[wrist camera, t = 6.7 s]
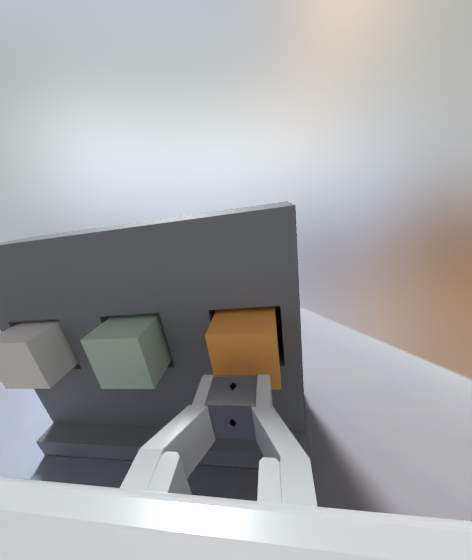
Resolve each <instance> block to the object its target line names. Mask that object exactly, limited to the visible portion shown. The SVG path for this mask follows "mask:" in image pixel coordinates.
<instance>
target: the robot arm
mask: <svg viewBox="0 0 472 560" xmlns="http://www.w3.org/2000/svg"><path fill="white" fill-rule="evenodd" d="M0 333H1V331H0ZM216 439H244V440H256V441H257V444H258V446H259V448H260V450H261V452H262V454H263V456H264V457H263V458H262V459H261V460H260V461H259V473H258V493H257V501H252V500H241V499H231V498H220V497H209V496H199V495H192V493H191V489H190V486H189V483H188V480H187V479H188V477H189V476H190V474H191V473H192V472H193V470H194V469H195V468H196V466H197V465H198V464H199V462H200V461H201V459H202V458H203V457H204V455H205V454H206V453H207V451H208V450H209V448H210V447H211V446H212V444H213V443H214V442H215V440H216ZM0 560H472V521H464V520H453V519H442V518H432V517H421V516H411V515H400V514H389V513H379V512H368V511H358V510H347V509H336V508H326V507H317V500H316V494H315V488H314V481H313V475H312V468H311V462H310V458H309V457H308V456H307V454H306V453H305V451H304V450H303V448H302V447H301V446H300V444H299V443H298V441H297V440H296V439H295V437H294V436H293V434H292V433H291V432H290V430H289V429H288V427H287V426H286V425H285V423H284V422H283V420H282V419H281V417H280V416H279V415H278V413H277V412H276V410H275V409H274V408H273V405H272V392H271V382H270V375H269V374H261V375H203V376H202V378H201V381H200V384H199V386H198V389H197V392H196V394H195V397H194V400H193V403H192V405H188V406H187V407H186V408H185V409H184V410H182V411H181V412H180V413H179V414H178V415H177V416H176V417H175V418H173V419H172V420H171V421H170V422H169V423H168V424H167V425H166V426H164V427H163V428H162V429H161V430H160V431H159V432H158V433H157V434H156V435H154V436H153V437H152V438H151V439H150V440H149V441H148V442H147V443H145V444H144V445H143V446H142V447H141V448H140V449H139V451H138V453H137V455H136V457H135V459H134V461H133V463H132V465H131V467H130V469H129V471H128V473H127V475H126V477H125V479H124V481H123V482H122V484H121V486H120V488H113V487H103V486H92V485H82V484H71V483H60V482H50V481H39V480H29V479H19V478H8V477H0Z"/></svg>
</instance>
